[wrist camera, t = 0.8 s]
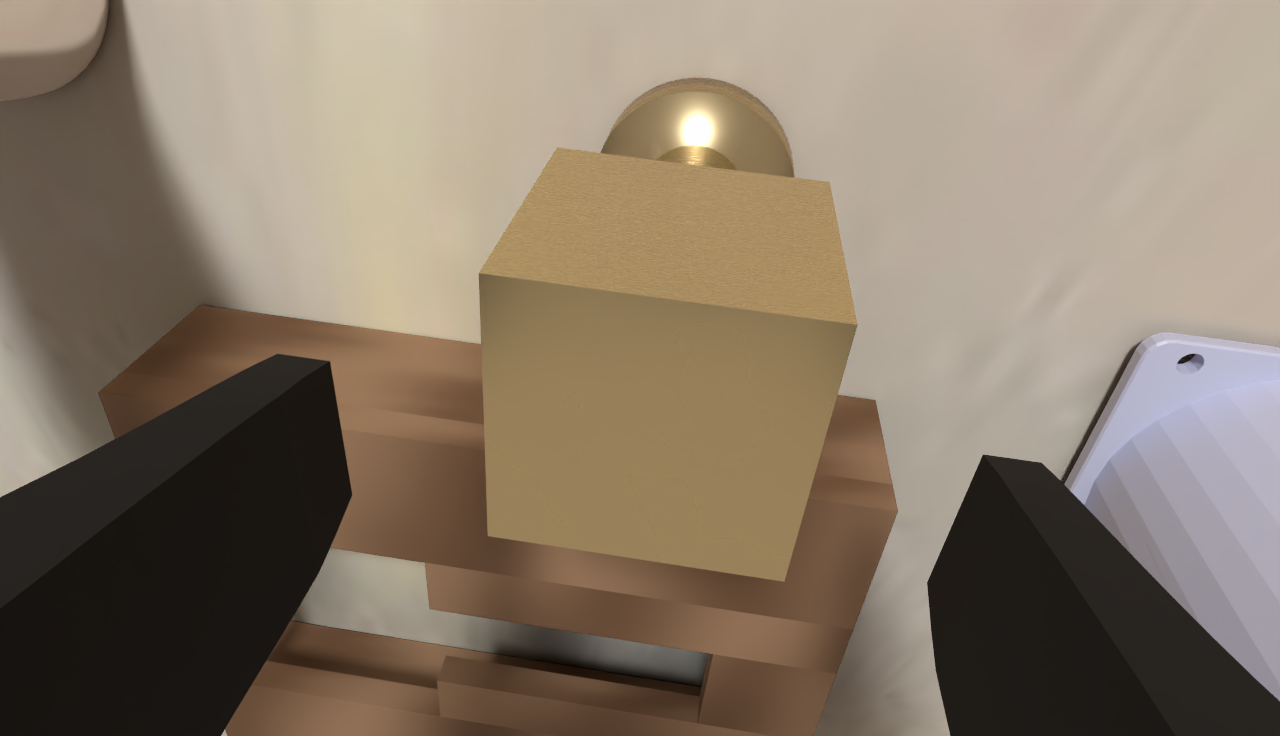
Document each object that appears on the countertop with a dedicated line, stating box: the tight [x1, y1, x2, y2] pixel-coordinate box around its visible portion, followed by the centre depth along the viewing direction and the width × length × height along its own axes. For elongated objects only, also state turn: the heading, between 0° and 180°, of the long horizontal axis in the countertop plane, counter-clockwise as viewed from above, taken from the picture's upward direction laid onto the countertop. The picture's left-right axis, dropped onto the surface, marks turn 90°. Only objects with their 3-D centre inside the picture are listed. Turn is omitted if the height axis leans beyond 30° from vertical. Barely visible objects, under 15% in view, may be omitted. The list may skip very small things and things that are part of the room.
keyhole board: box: [98, 305, 898, 736], centre depth 22 cm, size 17×14×4 cm
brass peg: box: [479, 78, 857, 582], centre depth 13 cm, size 4×4×9 cm
